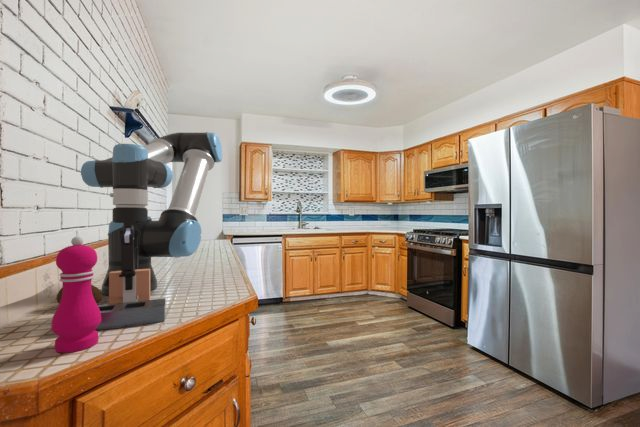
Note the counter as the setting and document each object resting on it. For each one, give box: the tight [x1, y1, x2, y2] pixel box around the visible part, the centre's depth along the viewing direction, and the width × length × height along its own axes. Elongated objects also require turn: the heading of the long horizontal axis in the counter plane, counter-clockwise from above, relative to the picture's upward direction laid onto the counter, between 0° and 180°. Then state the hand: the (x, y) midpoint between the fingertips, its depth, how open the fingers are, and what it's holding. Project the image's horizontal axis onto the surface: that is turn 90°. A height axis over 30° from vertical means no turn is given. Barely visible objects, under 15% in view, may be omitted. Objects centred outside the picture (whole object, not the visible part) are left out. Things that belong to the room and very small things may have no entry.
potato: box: [56, 284, 103, 305], centre depth 81 cm, size 7×10×7 cm
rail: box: [95, 297, 166, 331], centre depth 69 cm, size 7×18×4 cm, turn 115°
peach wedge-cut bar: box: [108, 269, 151, 304], centre depth 77 cm, size 3×8×10 cm, turn 115°
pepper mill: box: [50, 236, 101, 354], centre depth 57 cm, size 7×7×20 cm
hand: (130, 300), depth 77 cm, fingers closed on peach wedge-cut bar, 3 cm apart
